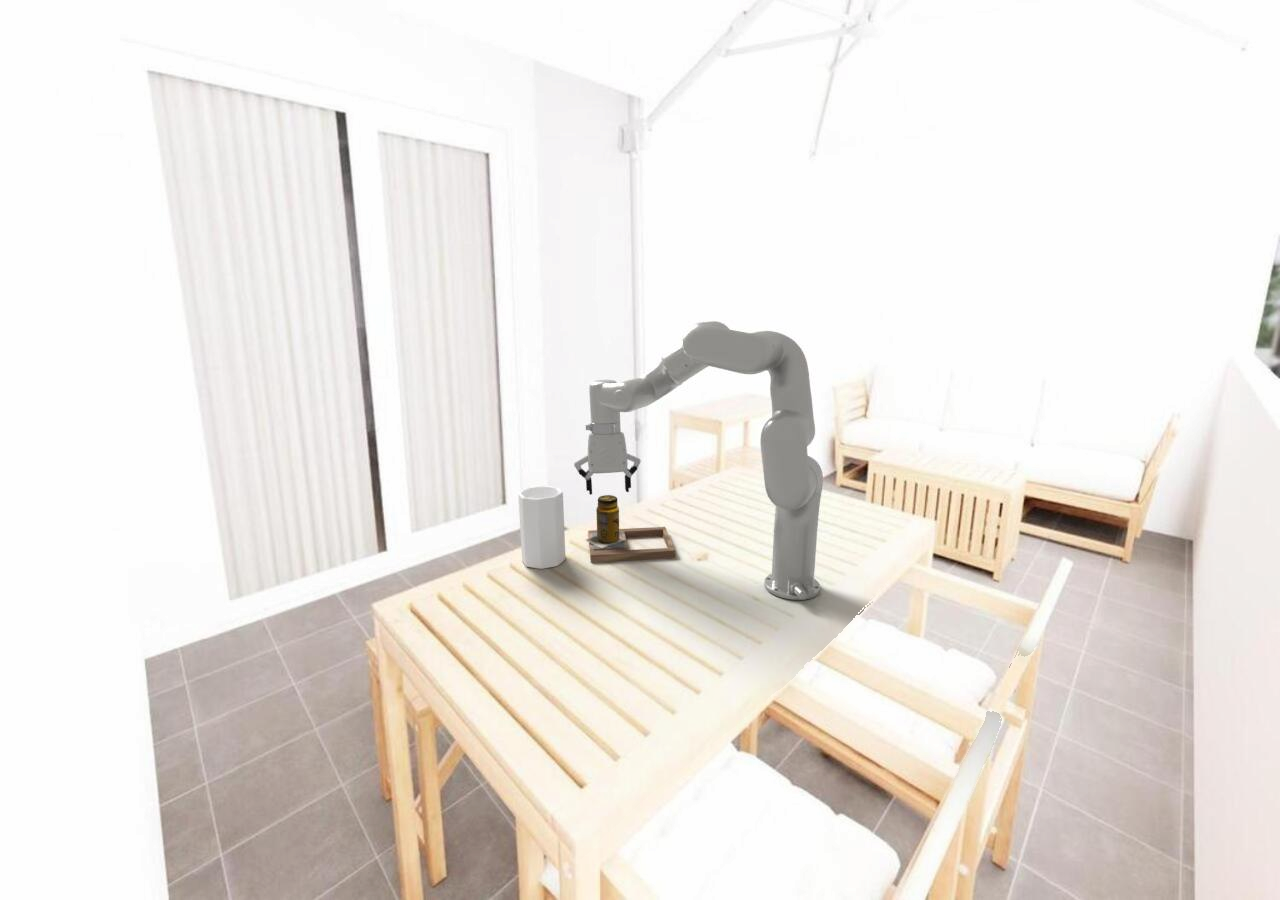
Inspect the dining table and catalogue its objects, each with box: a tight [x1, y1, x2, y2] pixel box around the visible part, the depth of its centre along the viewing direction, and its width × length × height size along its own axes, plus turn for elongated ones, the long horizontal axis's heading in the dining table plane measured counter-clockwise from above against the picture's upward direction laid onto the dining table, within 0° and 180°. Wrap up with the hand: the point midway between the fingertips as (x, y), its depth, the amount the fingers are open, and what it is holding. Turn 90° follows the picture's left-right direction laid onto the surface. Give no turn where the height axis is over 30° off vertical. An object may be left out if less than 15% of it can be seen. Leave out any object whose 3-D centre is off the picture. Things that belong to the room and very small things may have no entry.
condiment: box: [585, 494, 627, 548], centre depth 160 cm, size 7×8×12 cm
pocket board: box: [587, 526, 676, 563], centre depth 163 cm, size 17×22×2 cm
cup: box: [517, 485, 566, 570], centre depth 153 cm, size 11×11×18 cm
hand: (608, 491), depth 158 cm, fingers open, 9 cm apart
